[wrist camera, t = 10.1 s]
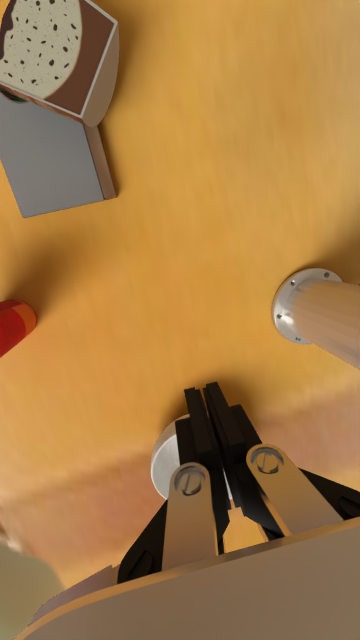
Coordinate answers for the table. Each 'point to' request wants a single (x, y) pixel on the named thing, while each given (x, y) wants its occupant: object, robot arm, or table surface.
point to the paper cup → (15, 323)
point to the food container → (60, 57)
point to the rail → (100, 162)
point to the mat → (46, 159)
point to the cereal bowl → (167, 460)
